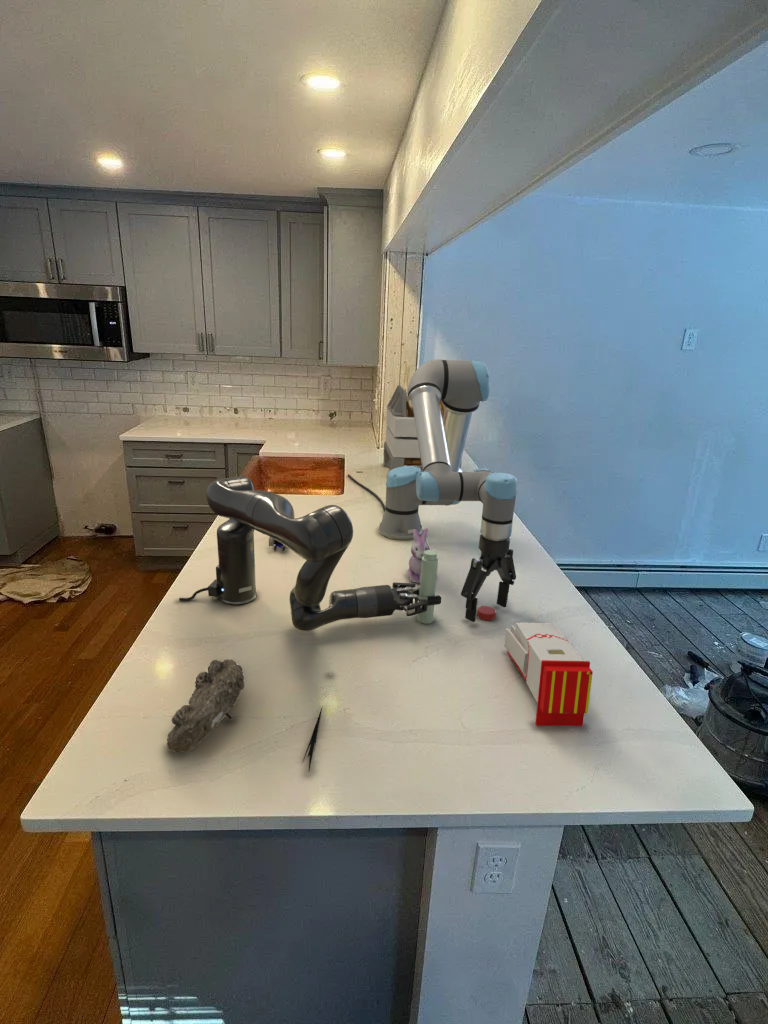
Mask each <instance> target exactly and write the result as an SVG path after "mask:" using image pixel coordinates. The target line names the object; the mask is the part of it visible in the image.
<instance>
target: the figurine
mask: <svg viewBox="0 0 768 1024" xmlns="http://www.w3.org/2000/svg"><path fill="white" fill-rule="evenodd" d="M428 534H429V528H426V527H425V528H424V529H423V530H422V534H421V535H419V533H418V531H417V530H416V529H414V530H413V537H414V539H413V543H412V545H411V547H410V552H411V556H410V558H409V560H408V566H409V567H408V571H407V577H408V578H409V581H410V582H411V583H417V584H420V576H421V562H422V557H423V556H424V551H426V550H431V548H430V545H429V543H428V540H427V539H428Z"/></svg>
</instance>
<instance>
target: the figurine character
mask: <svg viewBox="0 0 768 1024" xmlns="http://www.w3.org/2000/svg"><path fill="white" fill-rule="evenodd" d="M268 546H269V547H272V548H273V551H277V549H278V548H282V552H284V551H285V550H286V548H288V547H287V546H285V545H284V544H282V543H281V542H279V541H277V540H275V539H273V538H271V537H270V536H268Z"/></svg>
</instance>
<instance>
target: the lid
mask: <svg viewBox="0 0 768 1024" xmlns="http://www.w3.org/2000/svg"><path fill="white" fill-rule="evenodd" d="M496 612H497V611H496V609H495V608H494V607H492V606H491V605H490V606H489V605H481V606H479V607H477V611H476V617H477V618H479V619H480V620H483V621H493V620H494V619H496Z"/></svg>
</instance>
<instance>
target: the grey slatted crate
mask: <svg viewBox="0 0 768 1024" xmlns="http://www.w3.org/2000/svg"><path fill="white" fill-rule="evenodd" d="M439 405H440V410H441V416H442V421H443V416H444V411H445V406H444V405H443V404H442V400H441V401H440V403H439ZM385 414H386V415H385V423H386V428H385V438H384V442H383V466H384V467H388V468H389V471H391V470H392V469H394V468H397V467H402V466H412V467H413V466H415V467H422V464H421V458H420V451H419V444H418V438H417V431H416V425H415V418H414V412H413V408H412V407H411V406H410V404H409V402H408V395H407V390H406V389H404V388H403V387H402V385H399V384H398V385H397V386H396V388H395V390H394V392H393V394H392V395H391V398H390V400H389V402H388V404H387V405H386V413H385ZM462 459H463V458H462ZM462 459H461V463H460V469H461V470H462V461H463V460H462Z"/></svg>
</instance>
